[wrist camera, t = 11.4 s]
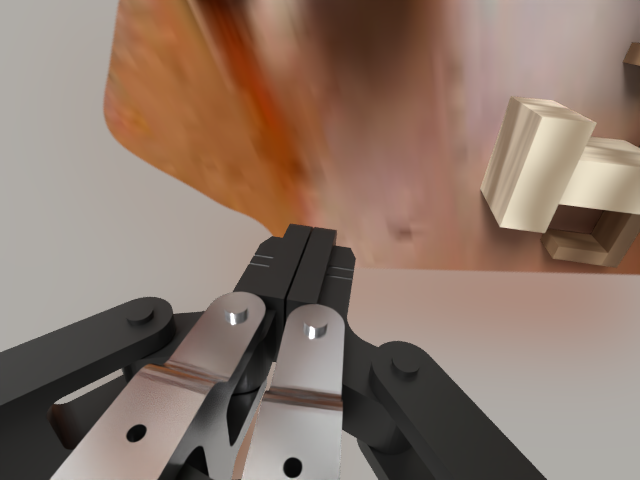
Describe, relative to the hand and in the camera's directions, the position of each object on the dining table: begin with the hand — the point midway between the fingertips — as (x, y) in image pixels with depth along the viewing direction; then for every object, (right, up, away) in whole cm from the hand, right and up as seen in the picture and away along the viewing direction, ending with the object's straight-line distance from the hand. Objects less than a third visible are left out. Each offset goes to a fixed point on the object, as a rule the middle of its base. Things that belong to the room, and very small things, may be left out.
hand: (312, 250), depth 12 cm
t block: (+25, +10, +26) cm, 37 cm away
